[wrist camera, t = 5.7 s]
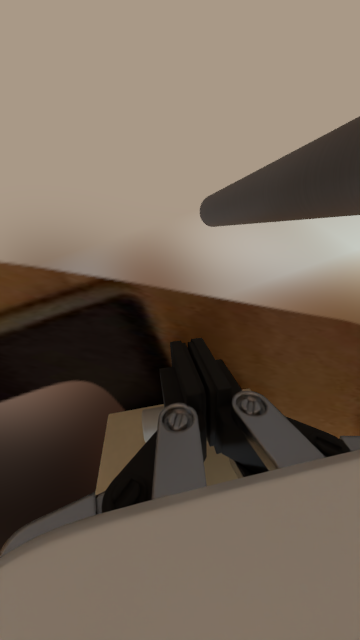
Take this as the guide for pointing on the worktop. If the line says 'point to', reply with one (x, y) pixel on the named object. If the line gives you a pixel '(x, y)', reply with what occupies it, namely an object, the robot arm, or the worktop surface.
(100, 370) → the worktop surface
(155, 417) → the drawer
